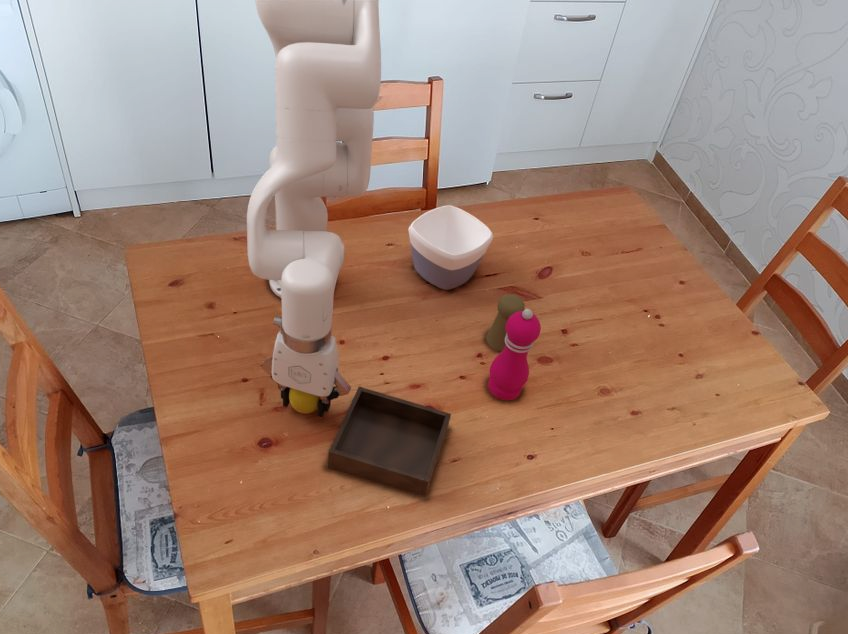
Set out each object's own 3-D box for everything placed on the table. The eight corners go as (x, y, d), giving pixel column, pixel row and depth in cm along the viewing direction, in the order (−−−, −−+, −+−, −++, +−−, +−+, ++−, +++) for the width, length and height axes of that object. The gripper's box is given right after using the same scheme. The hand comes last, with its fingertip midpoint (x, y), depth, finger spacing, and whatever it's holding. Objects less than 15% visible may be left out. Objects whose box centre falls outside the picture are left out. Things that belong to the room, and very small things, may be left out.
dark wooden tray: (327, 467, 118) (328, 451, 115) (357, 402, 129) (358, 386, 126) (425, 496, 117) (428, 482, 114) (447, 429, 128) (451, 413, 124)
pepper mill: (497, 407, 133) (521, 329, 118) (478, 378, 137) (499, 300, 123) (530, 396, 136) (557, 320, 121) (510, 369, 140) (535, 292, 126)
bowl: (493, 274, 159) (503, 234, 151) (446, 305, 150) (454, 263, 142) (441, 239, 165) (449, 198, 157) (393, 266, 156) (398, 224, 148)
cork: (513, 355, 143) (526, 314, 135) (483, 347, 143) (494, 306, 135) (518, 334, 147) (530, 294, 139) (489, 326, 147) (499, 286, 139)
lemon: (327, 404, 127) (328, 374, 122) (312, 427, 124) (313, 397, 118) (298, 393, 128) (298, 362, 122) (283, 415, 124) (282, 385, 119)
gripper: (243, 332, 110) (249, 407, 123) (351, 364, 109) (345, 437, 122) (264, 301, 115) (267, 376, 128) (367, 331, 114) (360, 404, 127)
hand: (305, 405), depth 125 cm, fingers closed on lemon, 5 cm apart
